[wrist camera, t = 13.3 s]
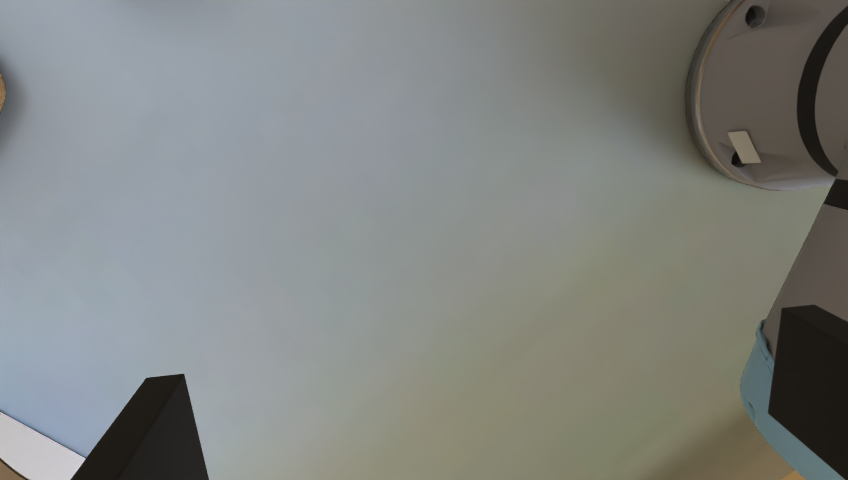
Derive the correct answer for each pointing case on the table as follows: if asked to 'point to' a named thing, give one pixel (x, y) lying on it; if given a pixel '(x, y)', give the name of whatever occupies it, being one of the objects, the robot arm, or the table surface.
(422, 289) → the table surface
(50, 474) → the gable box
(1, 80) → the stone cup
